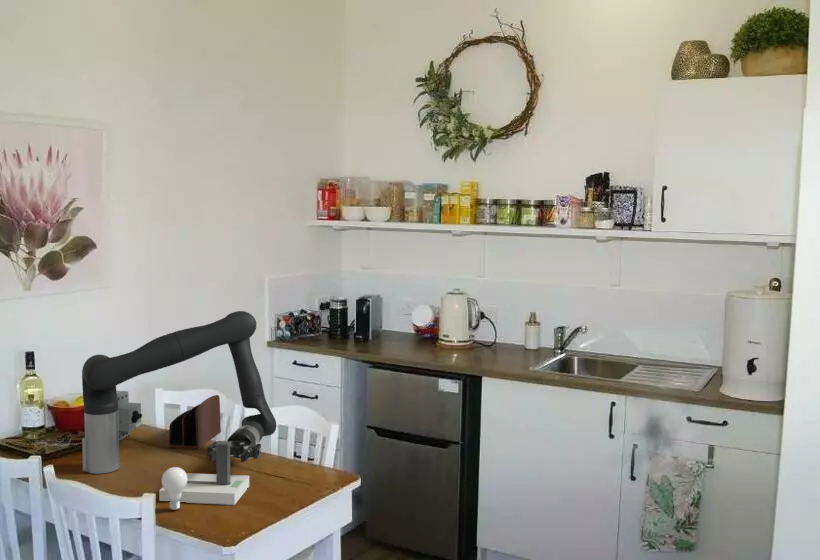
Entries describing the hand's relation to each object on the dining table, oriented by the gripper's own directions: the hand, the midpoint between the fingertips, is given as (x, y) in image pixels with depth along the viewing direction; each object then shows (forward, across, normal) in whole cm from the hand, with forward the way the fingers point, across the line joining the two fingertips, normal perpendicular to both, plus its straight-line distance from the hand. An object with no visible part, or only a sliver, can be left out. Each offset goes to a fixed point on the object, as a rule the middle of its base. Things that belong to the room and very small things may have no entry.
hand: (226, 458), depth 222 cm
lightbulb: (+15, -9, +9) cm, 20 cm away
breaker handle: (+3, 0, +6) cm, 6 cm away
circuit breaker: (-43, -49, +9) cm, 66 cm away
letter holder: (-45, -24, +9) cm, 52 cm away
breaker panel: (+3, -5, +9) cm, 11 cm away
